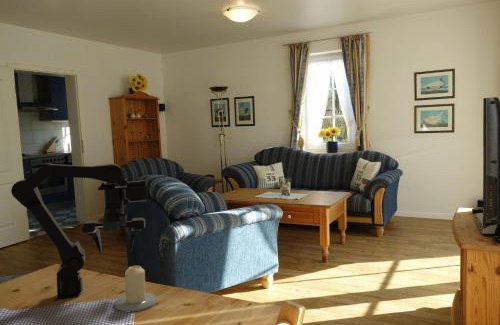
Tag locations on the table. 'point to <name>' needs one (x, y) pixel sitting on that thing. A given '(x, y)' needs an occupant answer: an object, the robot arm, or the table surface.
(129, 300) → the candle
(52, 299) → the table surface
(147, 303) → the slate plate
